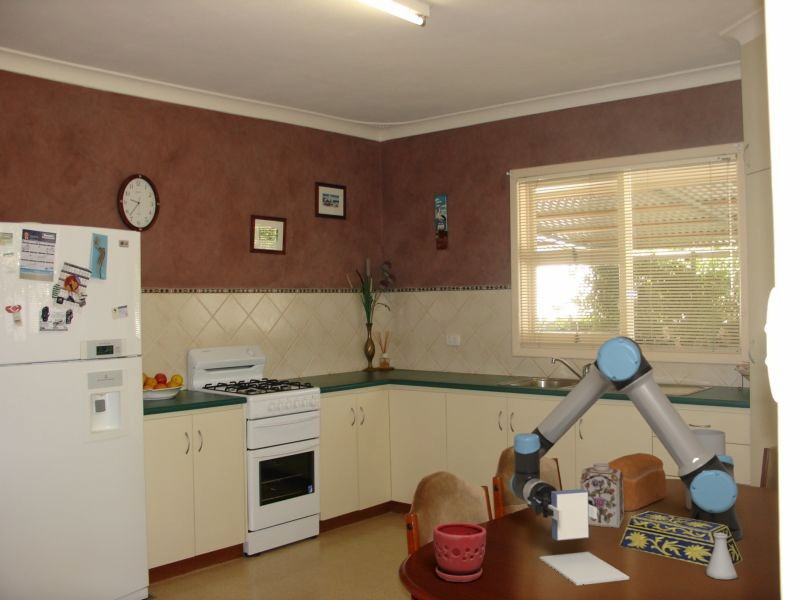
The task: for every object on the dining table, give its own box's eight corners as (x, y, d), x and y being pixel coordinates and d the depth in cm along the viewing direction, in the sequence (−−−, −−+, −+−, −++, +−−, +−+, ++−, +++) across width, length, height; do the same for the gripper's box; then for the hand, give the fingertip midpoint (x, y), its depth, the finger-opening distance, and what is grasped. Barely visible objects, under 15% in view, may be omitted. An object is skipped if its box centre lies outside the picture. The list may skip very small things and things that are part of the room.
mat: (539, 559, 206) (539, 556, 206) (587, 553, 209) (587, 551, 209) (576, 585, 185) (576, 582, 185) (629, 579, 189) (629, 576, 189)
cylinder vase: (708, 503, 261) (705, 428, 261) (736, 511, 249) (733, 433, 249) (677, 507, 256) (675, 431, 257) (705, 516, 244) (702, 436, 245)
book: (552, 537, 203) (551, 491, 203) (583, 534, 205) (582, 488, 205) (557, 540, 200) (556, 493, 200) (589, 537, 202) (588, 491, 202)
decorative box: (725, 571, 194) (724, 535, 194) (618, 547, 216) (617, 514, 216) (743, 561, 201) (742, 526, 201) (638, 539, 223) (638, 507, 223)
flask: (700, 571, 193) (699, 531, 193) (728, 570, 194) (727, 529, 194) (714, 581, 186) (713, 539, 186) (743, 580, 187) (742, 538, 187)
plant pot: (472, 589, 184) (471, 538, 185) (424, 580, 191) (423, 531, 192) (495, 572, 196) (494, 524, 196) (449, 564, 202) (448, 518, 203)
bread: (595, 506, 259) (594, 459, 260) (631, 492, 279) (630, 448, 279) (634, 513, 250) (633, 464, 250) (669, 498, 269) (667, 452, 270)
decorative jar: (580, 525, 237) (579, 466, 237) (586, 516, 248) (584, 459, 248) (621, 528, 233) (619, 468, 233) (625, 518, 243) (623, 461, 244)
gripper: (576, 505, 223) (616, 526, 201) (505, 511, 218) (538, 533, 196) (576, 479, 223) (616, 497, 201) (504, 484, 218) (538, 503, 196)
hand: (578, 514), depth 198 cm, fingers closed on book, 9 cm apart
